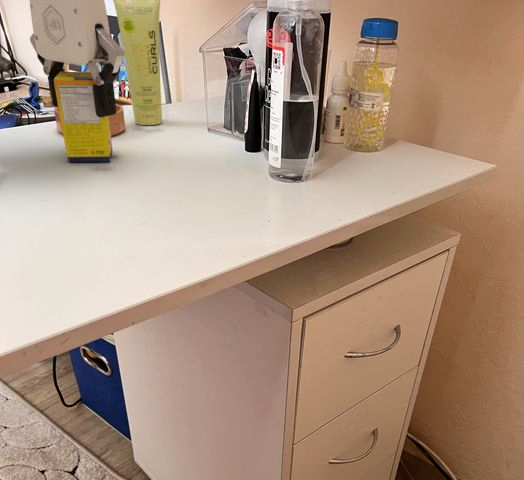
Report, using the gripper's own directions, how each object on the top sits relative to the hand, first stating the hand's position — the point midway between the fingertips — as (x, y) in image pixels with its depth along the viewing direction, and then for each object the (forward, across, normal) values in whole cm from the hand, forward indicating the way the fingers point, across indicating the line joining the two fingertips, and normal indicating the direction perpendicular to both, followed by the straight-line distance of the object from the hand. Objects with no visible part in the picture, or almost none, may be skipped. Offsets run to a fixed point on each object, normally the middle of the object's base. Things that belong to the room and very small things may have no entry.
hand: (84, 109), depth 75 cm
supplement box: (+7, 0, 0) cm, 7 cm away
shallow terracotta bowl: (+7, -11, +10) cm, 16 cm away
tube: (+7, -8, +20) cm, 23 cm away
